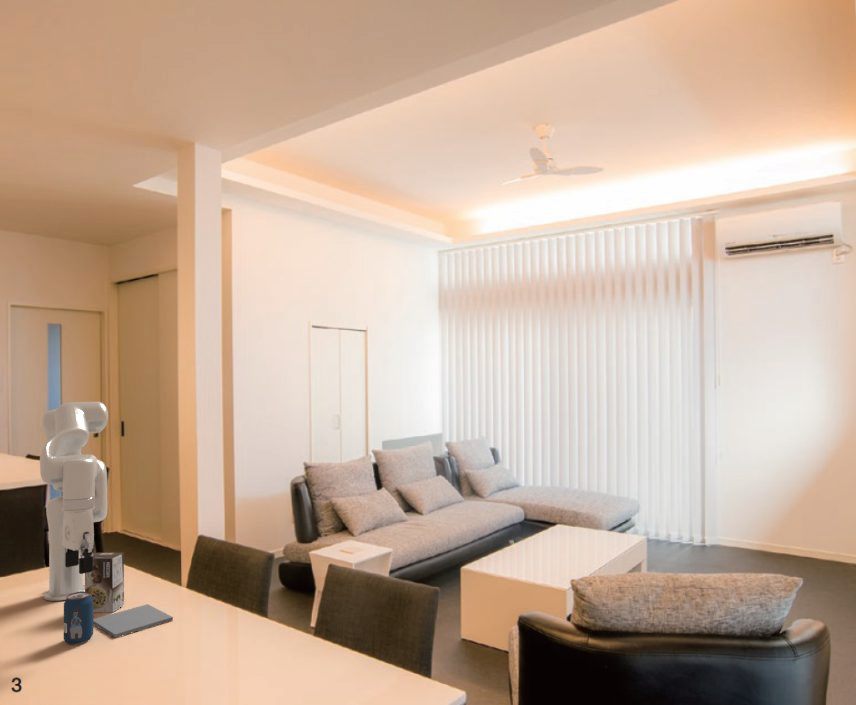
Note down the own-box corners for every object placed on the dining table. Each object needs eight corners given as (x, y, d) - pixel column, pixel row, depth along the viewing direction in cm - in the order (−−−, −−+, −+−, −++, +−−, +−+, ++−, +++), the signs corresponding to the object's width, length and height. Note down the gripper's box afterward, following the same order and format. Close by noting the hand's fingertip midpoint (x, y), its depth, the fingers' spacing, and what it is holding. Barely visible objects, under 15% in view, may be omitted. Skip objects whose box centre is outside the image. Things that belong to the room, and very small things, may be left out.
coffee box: (125, 605, 196) (125, 552, 197) (112, 613, 190) (112, 558, 191) (96, 604, 197) (97, 551, 198) (83, 612, 191) (83, 557, 191)
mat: (91, 623, 182) (91, 619, 183) (147, 607, 194) (147, 604, 194) (115, 638, 172) (115, 634, 172) (172, 620, 184) (172, 617, 184)
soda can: (86, 633, 175) (86, 588, 176) (97, 639, 171) (97, 594, 171) (59, 641, 170) (59, 595, 171) (70, 648, 166) (70, 601, 166)
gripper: (52, 503, 175) (52, 566, 174) (75, 510, 163) (75, 578, 162) (81, 499, 180) (81, 560, 179) (106, 505, 169) (106, 571, 168)
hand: (78, 569), depth 171 cm, fingers open, 9 cm apart
